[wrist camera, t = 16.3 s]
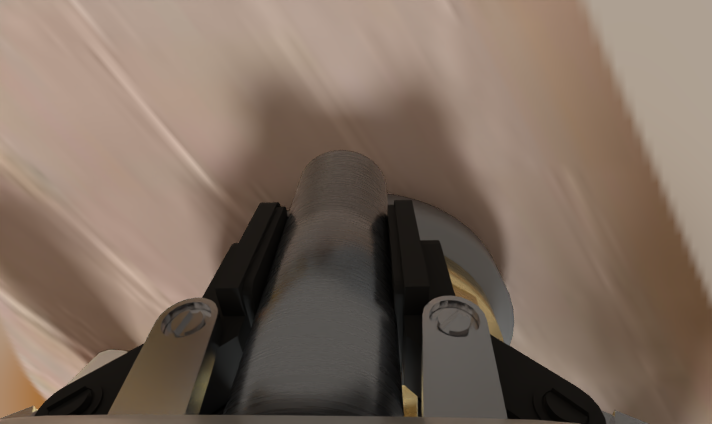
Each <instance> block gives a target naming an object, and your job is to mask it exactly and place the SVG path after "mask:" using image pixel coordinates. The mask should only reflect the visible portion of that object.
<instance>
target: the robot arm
mask: <svg viewBox="0 0 712 424" xmlns="http://www.w3.org/2000/svg"><path fill="white" fill-rule="evenodd" d="M387 217H388V232H389V246H390V260H391V274H392V288H393V303H394V313H395V316H396V320H397V330H398V343H399V356H400V369H401V381H402V385H405V386H406V387H407V388H408V389H409V390H410V391H412V392H413V393H414V394H415V395H416V396H417V417H384V416H292V415H223V412H224V409H225V406H226V403H227V400H228V397H229V394H230V391H231V388H232V385H233V382H234V379H235V376H236V373H237V370H238V367H239V364H240V361H241V358H242V355H243V352H244V348H245V345H246V342H247V339H248V336H249V333H250V330H251V327H252V324H253V321H254V318H255V315H256V312H257V309H258V306H259V303H260V300H261V297H262V294H263V291H264V288H265V285H266V282H267V279H268V276H269V272H270V269H271V266H272V263H273V260H274V257H275V254H276V251H277V248H278V245H279V242H280V239H281V236H282V233H283V230H284V227H285V224H286V221H287V218H288V216H287V210H286V207H281V206H280V204H279V203H278V202H277V203H260V204H259V206H258V208H257V210H256V212H255V214H254V215H253V217H252V219H251V221H250V223H249V225H248V227H247V228H246V230H245V232H244V234H243V236H242V238H241V240H240V242H239V243H234V244H233V245H232V246H231V247H230V249H229V251H228V253H227V254H226V256H225V258H224V260H223V262H222V263H221V265H220V267H219V269H218V270H217V272H216V274H215V276H214V278H213V279H212V281H211V283H210V285H209V287H208V288H207V290H206V292H205V294H204V295H203V297H202V298H191V299H186V300H183V301H181V302H178V303H176V304H174V305H172V306H171V307H169V308H168V309H166V310H165V311H164V312H163V313H162V314H161V315H160V316H159V318H158V319H157V320H156V322H155V324H154V326H153V327H152V329H151V331H150V333H149V335H148V337H147V339H146V341H145V343H144V344H142V345H140V346H138V347H137V348H135V349H133V350H131V351H129V352H127V353H125V354H124V355H122V356H120V357H118V358H116V359H114V360H113V361H111V362H109V363H107V364H105V365H103V366H102V367H100V368H98V369H96V370H94V371H92V372H90V373H89V374H87V375H85V376H83V377H81V378H79V379H78V380H76V381H74V382H72V383H70V384H68V385H67V386H65V387H63V388H62V389H60V390H59V391H57V392H56V393H54V394H53V395H52V396H51V397H50V398H49V399H48V400H46V401H45V402H44V403H43V405H42V406H41V407H40V408H39V410H37V409H36V408H35V407H34V406H32V407H29V408H27V409H24V410H21V411H19V412H16V413H13V414H11V415H8V416H5V417H3V418H0V424H648V423H646V422H643V421H641V420H638V419H636V418H633V417H631V416H628V415H626V414H623V413H621V412H618V411H616V410H615V411H614V413H613V415H611V414H609V413H606V412H604V411H601V409H600V408H599V406H598V405H597V404H596V403H595V402H594V400H593V399H592V398H591V397H590V396H589V395H587V394H586V393H585V392H583V391H582V390H581V389H579V388H578V387H576V386H575V385H573V384H571V383H570V382H568V381H567V380H565V379H563V378H562V377H560V376H558V375H557V374H555V373H553V372H552V371H550V370H548V369H547V368H545V367H544V366H542V365H540V364H539V363H537V362H535V361H534V360H532V359H530V358H529V357H527V356H525V355H524V354H522V353H520V352H519V351H517V350H516V349H514V348H512V347H511V346H509V345H507V344H506V343H504V342H502V341H501V340H499V339H497V338H496V337H494V336H492V335H491V334H490V332H489V327H488V322H487V319H486V316H485V314H484V312H483V311H482V310H481V309H480V308H479V307H478V306H477V305H476V304H474V303H473V302H471V301H470V300H467V299H465V298H462V297H457V296H455V293H454V289H453V286H452V282H451V279H450V275H449V272H448V268H447V264H446V261H445V257H444V254H443V250H442V247H441V244H440V241H439V240H420V236H419V231H418V227H417V222H416V217H415V212H414V207H413V202H412V200H394V205H388V206H387Z"/></svg>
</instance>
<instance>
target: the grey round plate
mask: <svg viewBox="0 0 712 424" xmlns="http://www.w3.org/2000/svg"><path fill="white" fill-rule="evenodd" d="M387 200H388V205H394V200H412V202H413V207H414V212H415V217H416V222H417V227H418V231H419V236H420V240H439V241H440V244H441V247H442V250H443V254H444V256H446V257H448V258H449V259H451V260H452V261H454V262H455V263H457V264H458V265H460V266H461V267H462V268H463V269H464V270H465V271H466V272H468V273H469V274H470V275H471V276H472V277H473V278H474V279H475V281H476V282H477V283H478V284H479V285H480V287H481V288H482V290H483V291H484V293H485V295H486V297H487V298H488V300H489V303H490V305H491V308H492V310H493V313H494V316H495V318H496V321H497V323H498V326H499V329H500V331H501V334H502V337H503V340H504V343H506V344H507V345H509V346H510V343H511V339H512V336H513V327H514V314H513V306H512V302H511V299H510V295H509V292H508V290H507V288H506V286H505V284H504V282H503V279H502V277H501V275H500V273H499V271H498V269H497V267H496V265H495V263H494V260H493V258H492V256H491V254H490V253H489V251H488V250H487V248H486V247H485V246H484V244H483V243H482V241H481V240H480V239H479V238H478V237H477V236H476V235H475V234H474V233H473V232H472V231H471V230H470V229H469V228H468V227H466V226H465V225H464V224H462V223H461V222H460V221H458V220H457V219H456V218H454V217H452V216H451V215H449V214H447V213H445V212H444V211H442V210H440V209H438V208H436V207H433V206H431V205H428V204H426V203H423V202H421V201H417V200H414V199H410V198H406V197H402V196H397V195H390V194H387ZM289 212H290V210H289V211H287V216H288V215H289Z"/></svg>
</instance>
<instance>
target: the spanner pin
mask: <svg viewBox="0 0 712 424" xmlns="http://www.w3.org/2000/svg"><path fill="white" fill-rule="evenodd" d="M387 206H388V200H387V187H386V181H385V178H384V175H383V173H382V172H381V170H380V169H379V167H378V166H377V165H376V164H375V163H374V162H373V161H372V160H370V159H369V158H367V157H366V156H364V155H361V154H359V153H356V152H352V151H346V150H338V151H331V152H327V153H324V154H322V155H320V156H318V157H316V158H315V159H313V160H312V161H311V162H310V163H309V164H308V165H307V166H306V168H305V169H304V171H303V173H302V176H301V178H300V181H299V184H298V187H297V190H296V193H295V197H294V200H293V203H292V206H291V209H290V212H289V215H288V218H287V221H286V224H285V227H284V230H283V233H282V236H281V239H280V242H279V245H278V248H277V251H276V254H275V257H274V260H273V263H272V266H271V269H270V272H269V276H268V279H267V282H266V285H265V288H264V291H263V294H262V297H261V300H260V303H259V306H258V309H257V312H256V315H255V318H254V321H253V324H252V327H251V330H250V333H249V336H248V339H247V342H246V345H245V348H244V352H243V355H242V358H241V361H240V364H239V367H238V370H237V373H236V376H235V379H234V382H233V385H232V388H231V391H230V394H229V397H228V400H227V403H226V406H225V409H224V412H223V415H292V416H384V417H404V407H403V394H402V381H401V369H400V356H399V343H398V330H397V320H396V316H395V313H394V303H393V288H392V274H391V260H390V246H389V232H388V217H387Z"/></svg>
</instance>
